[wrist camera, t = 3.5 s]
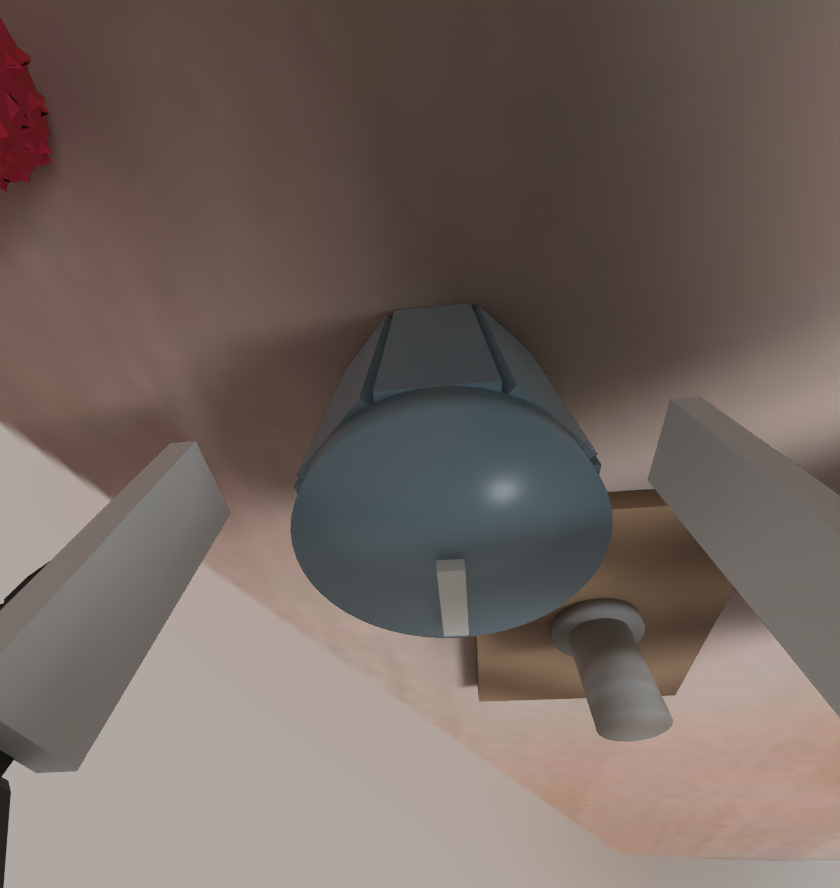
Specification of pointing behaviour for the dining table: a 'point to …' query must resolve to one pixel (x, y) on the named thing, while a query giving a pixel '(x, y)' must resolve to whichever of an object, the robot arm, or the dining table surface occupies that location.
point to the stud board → (623, 574)
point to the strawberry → (19, 116)
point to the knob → (448, 483)
